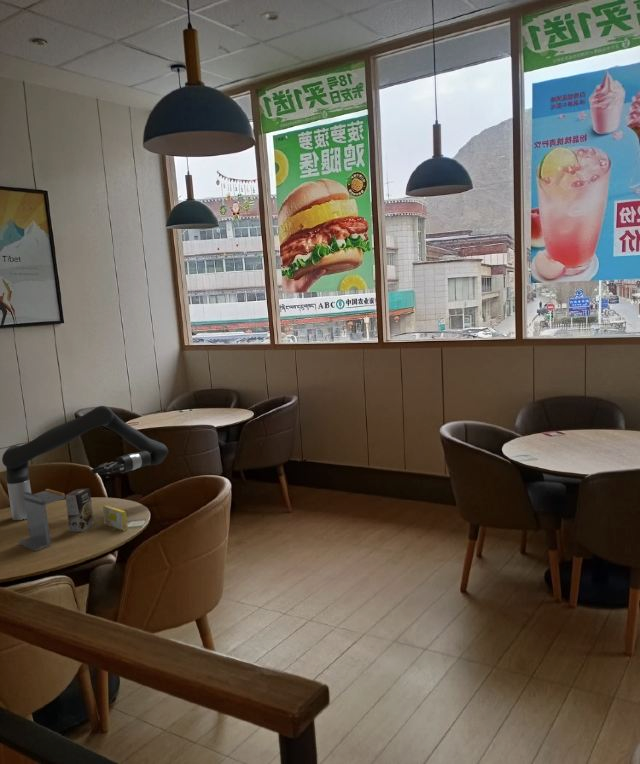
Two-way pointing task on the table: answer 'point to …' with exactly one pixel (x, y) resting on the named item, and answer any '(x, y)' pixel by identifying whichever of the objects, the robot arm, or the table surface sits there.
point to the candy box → (115, 517)
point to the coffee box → (79, 510)
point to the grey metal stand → (39, 518)
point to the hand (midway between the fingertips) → (95, 472)
